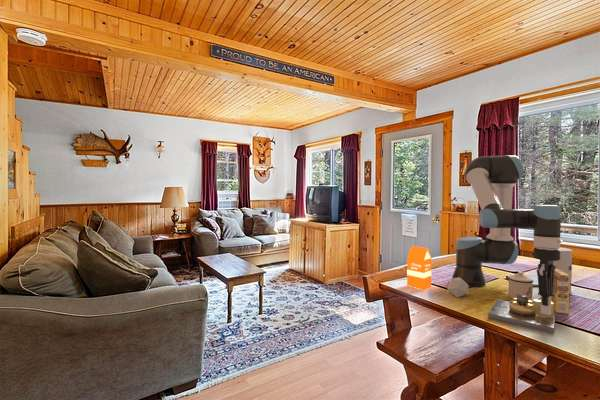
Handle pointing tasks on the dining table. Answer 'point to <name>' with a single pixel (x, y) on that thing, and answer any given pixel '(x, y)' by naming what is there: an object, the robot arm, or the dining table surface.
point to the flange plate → (521, 316)
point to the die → (458, 287)
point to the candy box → (561, 292)
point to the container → (565, 263)
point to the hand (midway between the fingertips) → (545, 313)
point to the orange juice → (419, 268)
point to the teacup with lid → (520, 285)
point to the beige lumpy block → (529, 308)
